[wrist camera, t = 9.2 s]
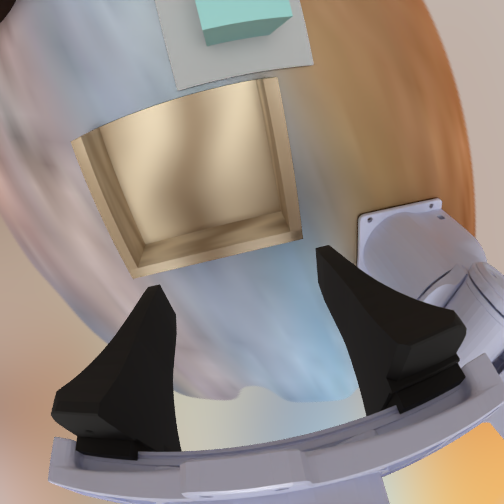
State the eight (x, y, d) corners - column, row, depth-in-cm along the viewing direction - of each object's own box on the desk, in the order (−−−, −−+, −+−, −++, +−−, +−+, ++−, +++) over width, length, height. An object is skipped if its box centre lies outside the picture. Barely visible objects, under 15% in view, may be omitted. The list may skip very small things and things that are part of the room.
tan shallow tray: (266, 77, 16) (277, 76, 13) (291, 215, 22) (302, 238, 20) (92, 130, 16) (70, 141, 14) (141, 252, 23) (133, 278, 20)
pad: (284, -42, 11) (286, -45, 10) (311, 65, 16) (313, 64, 15) (151, -19, 11) (150, -21, 10) (178, 90, 16) (177, 90, 16)
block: (256, -15, 12) (274, -50, 7) (269, 34, 14) (292, 16, 9) (194, -5, 12) (185, -38, 7) (206, 46, 14) (202, 30, 9)
